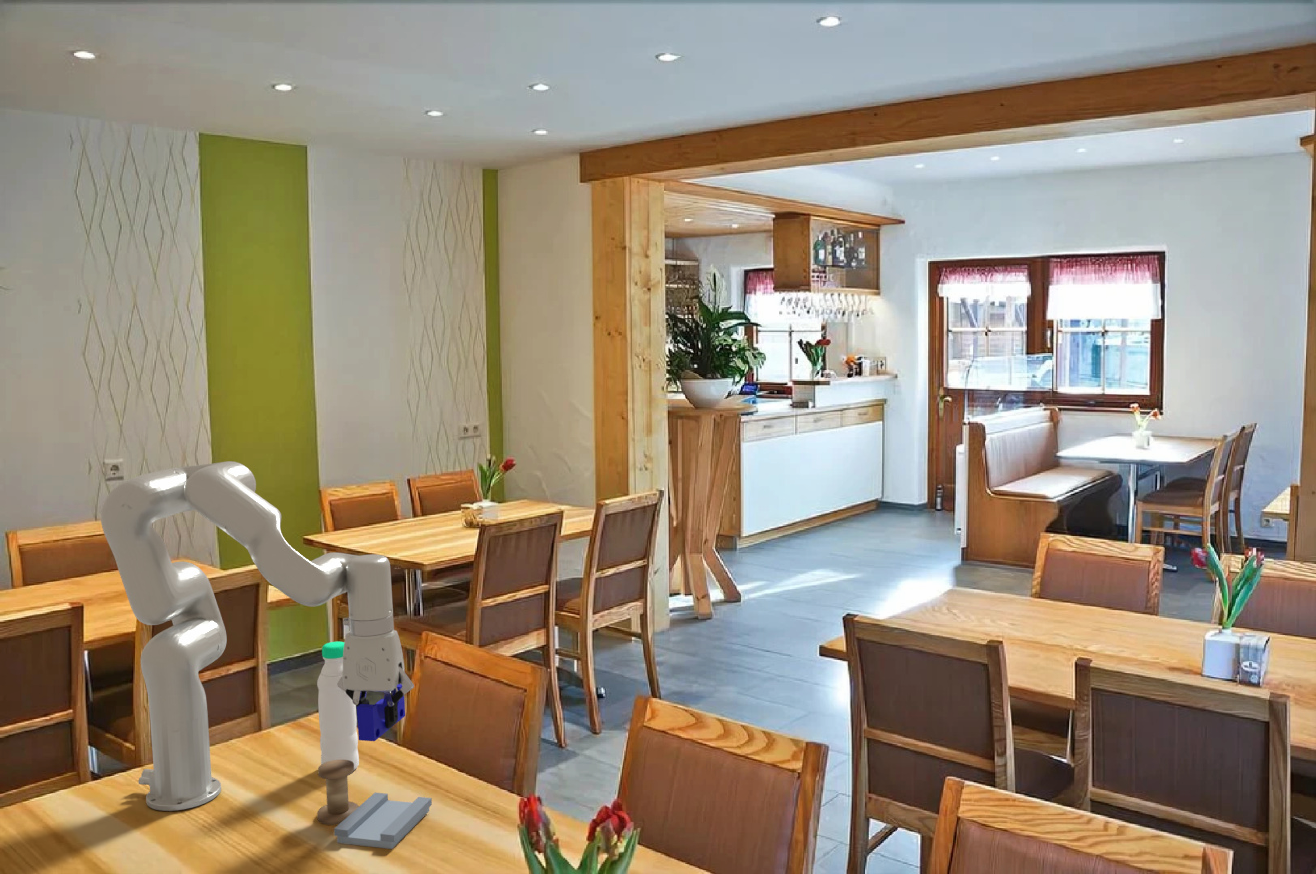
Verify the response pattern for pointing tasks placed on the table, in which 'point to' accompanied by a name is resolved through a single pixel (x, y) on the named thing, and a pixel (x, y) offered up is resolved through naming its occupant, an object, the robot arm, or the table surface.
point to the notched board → (381, 821)
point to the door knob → (336, 791)
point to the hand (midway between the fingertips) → (377, 723)
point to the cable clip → (375, 718)
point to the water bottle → (336, 710)
